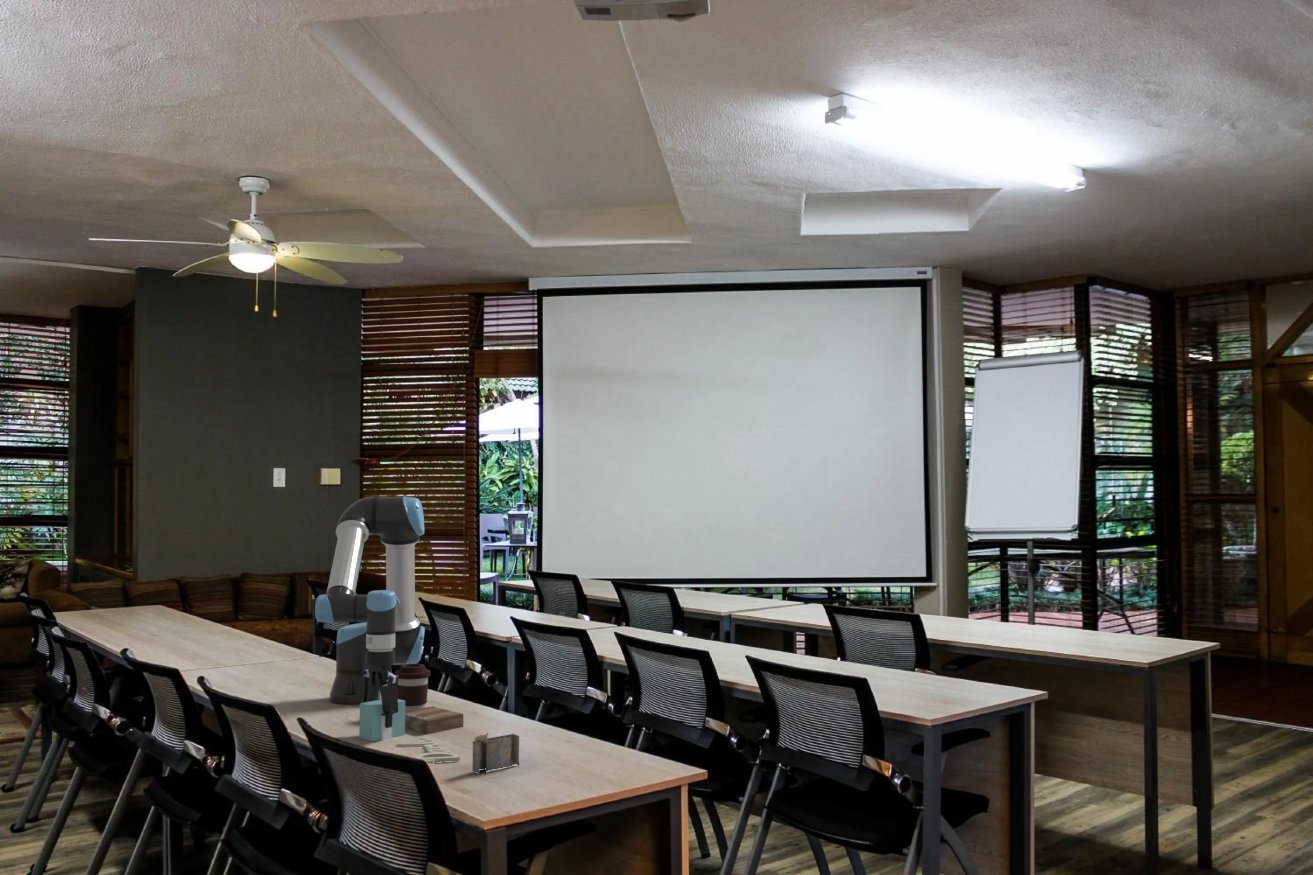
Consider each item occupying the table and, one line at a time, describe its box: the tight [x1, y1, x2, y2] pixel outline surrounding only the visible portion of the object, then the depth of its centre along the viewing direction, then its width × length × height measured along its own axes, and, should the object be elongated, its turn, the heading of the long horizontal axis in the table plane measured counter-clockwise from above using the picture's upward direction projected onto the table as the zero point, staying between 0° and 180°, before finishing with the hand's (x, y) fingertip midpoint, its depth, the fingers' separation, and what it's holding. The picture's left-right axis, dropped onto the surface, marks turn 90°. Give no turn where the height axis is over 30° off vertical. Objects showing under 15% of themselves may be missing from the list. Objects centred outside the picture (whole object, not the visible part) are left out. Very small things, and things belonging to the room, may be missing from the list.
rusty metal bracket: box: [471, 732, 520, 774], centre depth 249 cm, size 11×3×10 cm, turn 131°
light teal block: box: [358, 699, 406, 743], centre depth 278 cm, size 6×10×9 cm, turn 139°
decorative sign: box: [396, 737, 461, 764], centre depth 263 cm, size 23×2×10 cm
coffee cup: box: [394, 663, 431, 712], centre depth 302 cm, size 10×10×15 cm
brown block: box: [405, 705, 464, 735], centre depth 290 cm, size 14×12×4 cm
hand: (378, 737), depth 277 cm, fingers closed on light teal block, 6 cm apart
